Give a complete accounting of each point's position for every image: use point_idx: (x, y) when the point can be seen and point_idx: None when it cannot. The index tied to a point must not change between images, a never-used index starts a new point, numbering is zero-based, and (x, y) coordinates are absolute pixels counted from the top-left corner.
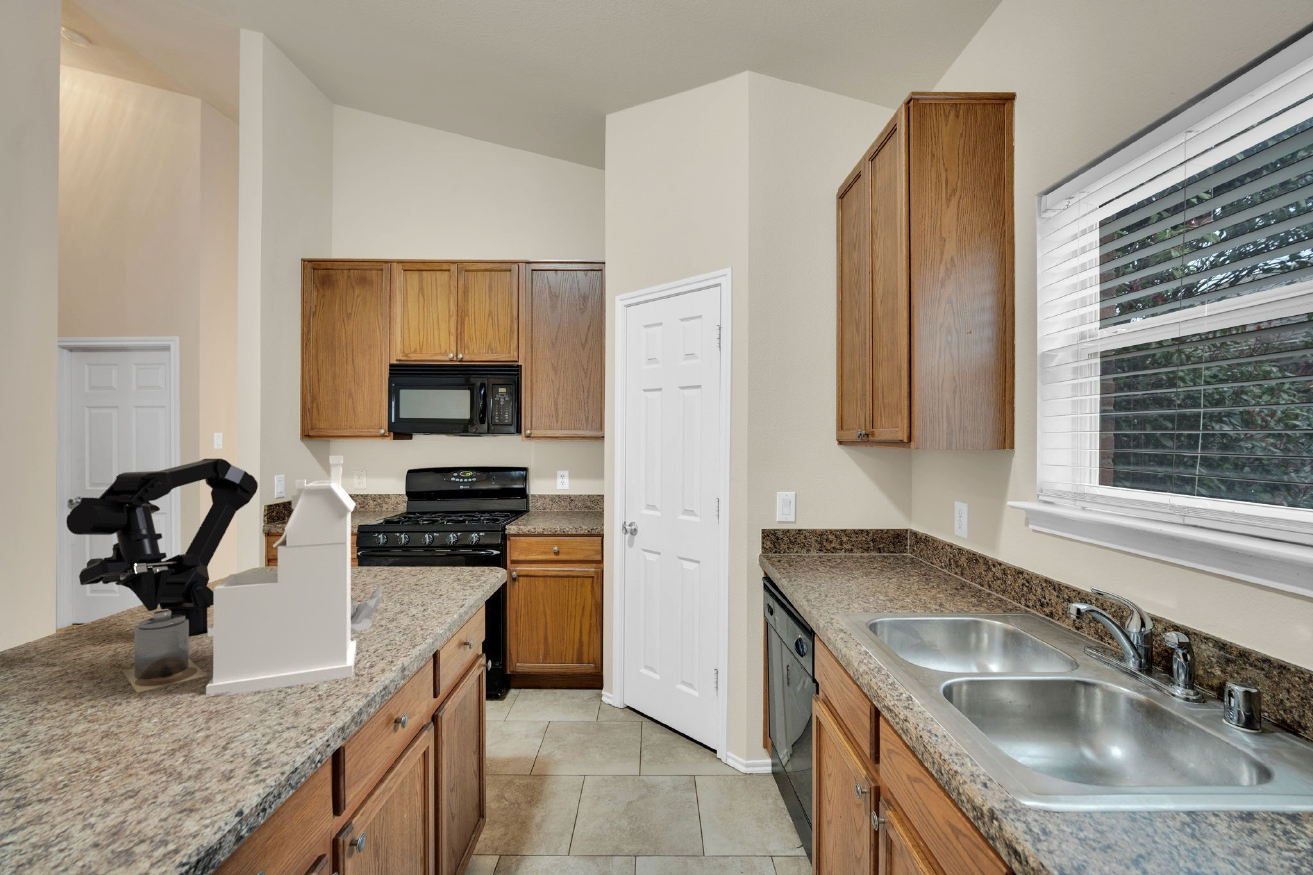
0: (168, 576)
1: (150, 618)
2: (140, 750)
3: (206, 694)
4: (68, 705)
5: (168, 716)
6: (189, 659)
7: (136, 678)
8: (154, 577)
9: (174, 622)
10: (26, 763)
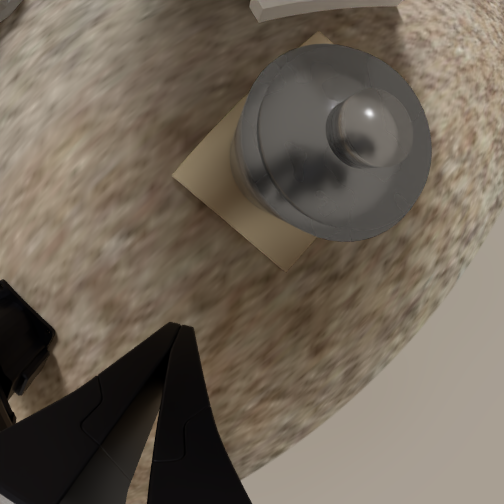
0: (13, 430)
1: (328, 222)
2: (497, 40)
3: (399, 3)
4: (432, 231)
5: (449, 37)
6: (197, 147)
7: None
8: (95, 500)
9: (378, 60)
10: None
